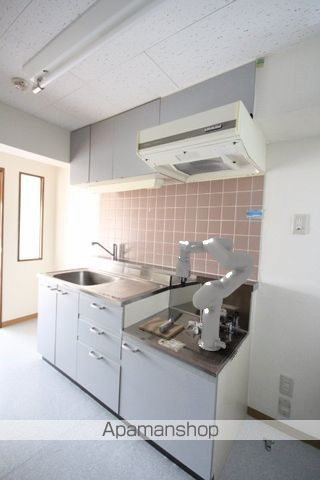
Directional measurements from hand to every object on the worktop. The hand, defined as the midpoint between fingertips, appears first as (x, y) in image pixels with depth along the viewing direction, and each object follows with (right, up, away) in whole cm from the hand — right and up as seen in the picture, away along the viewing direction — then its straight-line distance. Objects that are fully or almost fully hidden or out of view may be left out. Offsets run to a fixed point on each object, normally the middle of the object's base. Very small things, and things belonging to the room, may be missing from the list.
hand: (182, 286), depth 146 cm
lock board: (-14, -27, -2) cm, 30 cm away
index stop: (-13, -27, -9) cm, 31 cm away
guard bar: (-11, -25, -3) cm, 27 cm away
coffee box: (+17, -28, +6) cm, 33 cm away
